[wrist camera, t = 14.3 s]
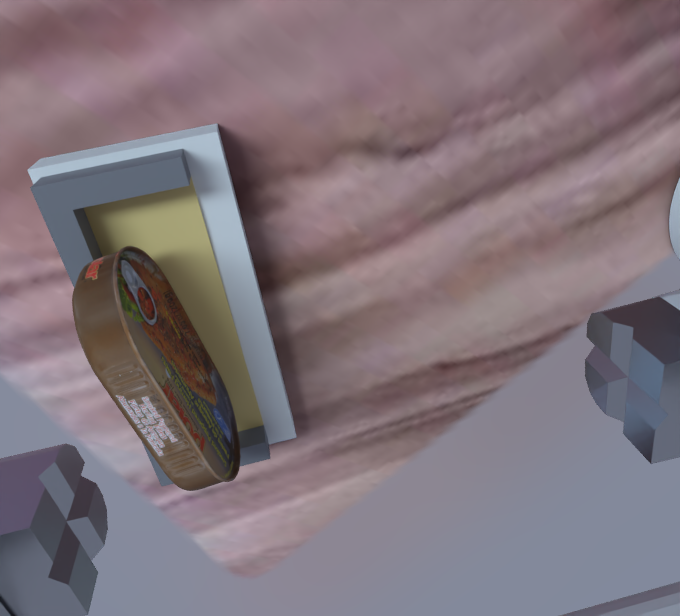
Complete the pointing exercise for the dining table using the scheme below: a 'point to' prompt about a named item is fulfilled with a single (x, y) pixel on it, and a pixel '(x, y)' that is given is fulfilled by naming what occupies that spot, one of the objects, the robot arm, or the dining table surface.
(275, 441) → the dock
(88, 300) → the tin
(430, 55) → the dining table surface
